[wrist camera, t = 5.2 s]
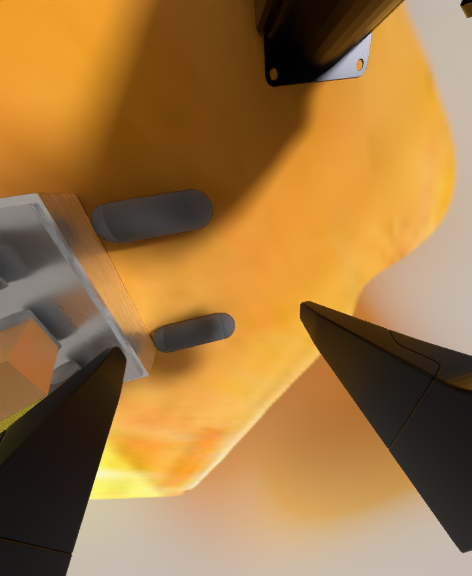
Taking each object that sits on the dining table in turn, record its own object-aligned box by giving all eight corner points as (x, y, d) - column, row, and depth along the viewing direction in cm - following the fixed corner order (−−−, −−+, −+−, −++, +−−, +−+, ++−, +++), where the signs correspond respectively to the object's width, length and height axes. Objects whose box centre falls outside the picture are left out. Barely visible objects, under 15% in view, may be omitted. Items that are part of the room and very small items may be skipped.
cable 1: (207, 187, 12) (209, 185, 10) (214, 223, 13) (217, 228, 11) (95, 205, 11) (72, 207, 9) (113, 242, 13) (96, 251, 10)
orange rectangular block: (34, 306, 11) (3, 357, 7) (62, 340, 12) (50, 397, 8) (-4, 319, 10) (-64, 385, 6) (31, 353, 11) (1, 425, 7)
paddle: (76, 356, 13) (79, 411, 9) (96, 380, 14) (106, 435, 10) (47, 371, 12) (38, 437, 8) (72, 395, 13) (73, 460, 10)
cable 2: (230, 305, 17) (235, 320, 15) (234, 324, 18) (238, 341, 16) (152, 323, 16) (146, 341, 14) (162, 341, 17) (156, 361, 15)
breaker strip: (75, 193, 11) (32, 192, 8) (156, 349, 18) (148, 378, 15) (-69, 216, 10) (-172, 223, 7) (73, 369, 17) (47, 404, 14)
